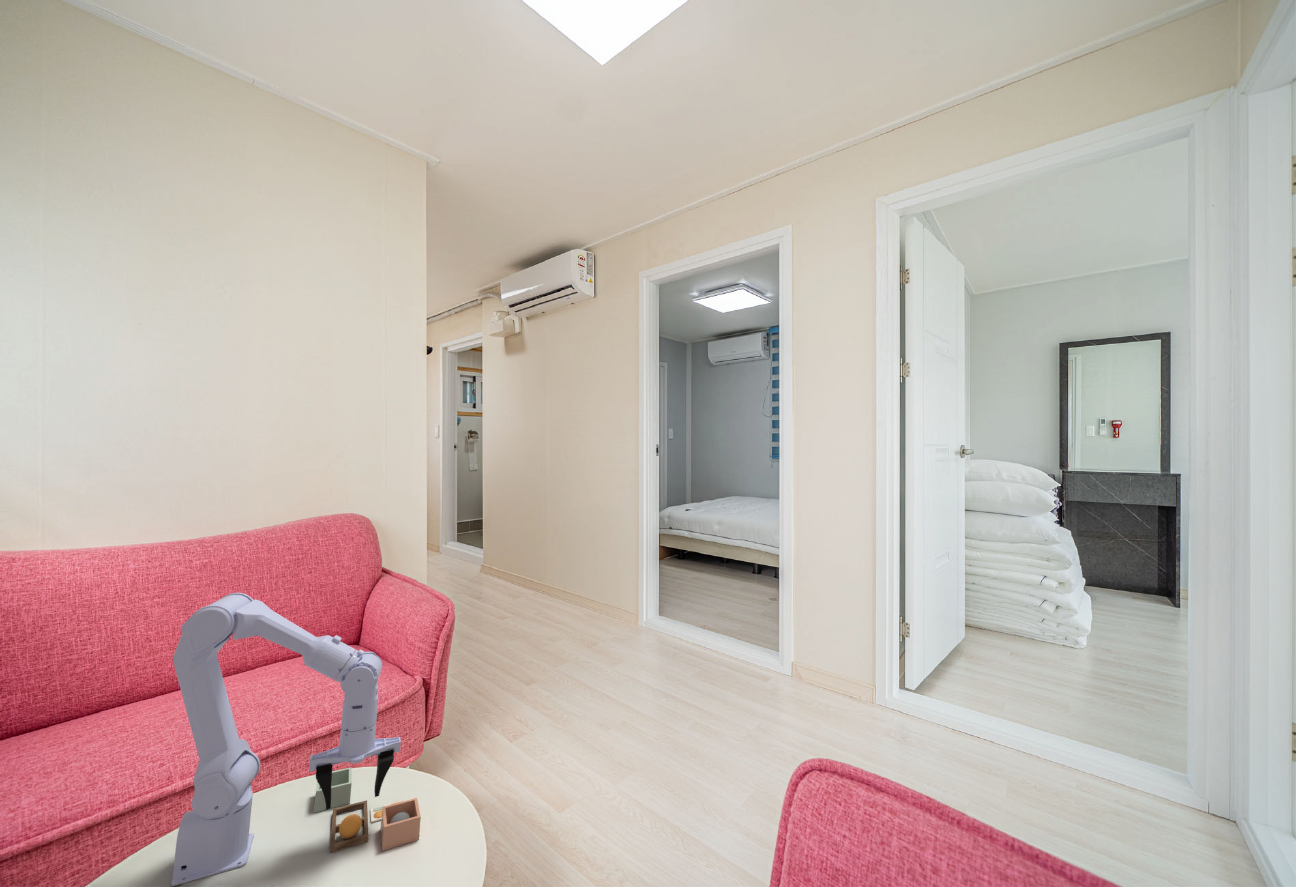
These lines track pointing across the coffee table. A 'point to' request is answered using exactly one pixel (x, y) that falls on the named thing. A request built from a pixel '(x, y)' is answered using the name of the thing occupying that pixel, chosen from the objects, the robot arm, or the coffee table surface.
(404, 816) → the grey ball
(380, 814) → the card
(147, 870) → the coffee table surface
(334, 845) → the rack
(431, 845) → the coffee table surface
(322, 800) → the sage open box
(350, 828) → the orange ball
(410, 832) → the pink open box
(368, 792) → the coffee table surface
